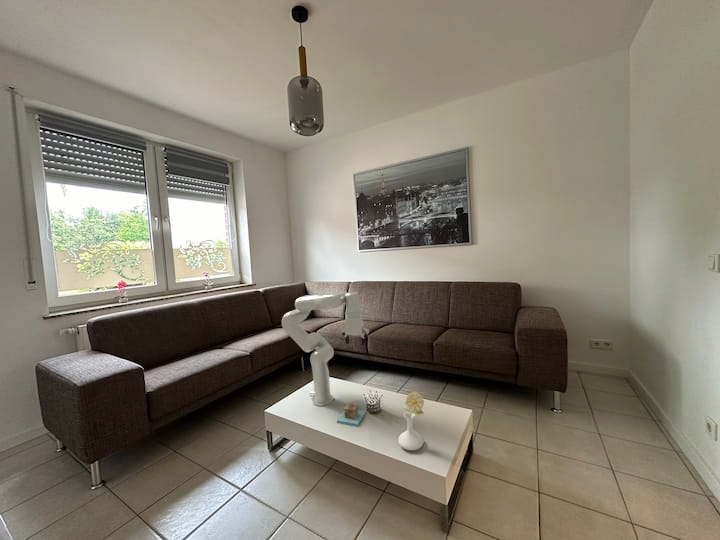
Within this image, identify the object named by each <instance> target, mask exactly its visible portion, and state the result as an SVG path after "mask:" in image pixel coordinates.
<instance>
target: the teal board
mask: <svg viewBox="0 0 720 540" xmlns="http://www.w3.org/2000/svg"><path fill="white" fill-rule="evenodd" d="M366 414H367V411H366V410H362V409H361V410H360V409H358V415H357V416H356V418H355V419H349V418H345V414H344V410H343V411H342V413H341V414H340V415H339V417H338V418H337V419H336V423H337V424H343V425H349V426H354V427H359V425H360V423H361V422H362V421H363V419H364V417H365V416H366Z"/></svg>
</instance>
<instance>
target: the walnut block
mask: <svg viewBox="0 0 720 540" xmlns="http://www.w3.org/2000/svg"><path fill="white" fill-rule="evenodd" d="M343 409H344V410H343V411H344V414H345V418H349V419H355V418H356V416H357V415H358V410H359V406H358V404H356V403H349V402H348V403H347V404H346V406H345V407H344V408H343Z"/></svg>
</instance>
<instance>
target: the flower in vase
mask: <svg viewBox="0 0 720 540" xmlns="http://www.w3.org/2000/svg"><path fill="white" fill-rule="evenodd" d="M404 404H405V405H406V407H407V408H404V407H403V409H404V410H405V411H406V412H405V413H404V412H403V418H404V419H405V420H406V426H407V428H406V430H405V431H404V432H402V433H400V435H399V436H398V438H397V442H398V445H399V446H400V447H401V448H402V449H404V450H407V451H417V450H419V449H421V448H422V447H423V445H424V439H423V437H422V435H420V433H419V432H417V431H415V430H414V428H413V421H414V418H415V416H416V415H424V412H423V407H424V404H425V400H424V398H423V396H422V394H419V393H418V392H416V391H413V392H410V393H409V394H407V396H406V398H405V403H404ZM415 413H416V414H415Z"/></svg>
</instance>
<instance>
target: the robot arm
mask: <svg viewBox="0 0 720 540" xmlns="http://www.w3.org/2000/svg"><path fill="white" fill-rule="evenodd" d="M344 305H345V306H346V311H345V312H344V315H345V316H346V317H345V321H344V327H342V328H340V332H341V335H343V338H344V340H345V345H348V344H350V337H349V336H356V337H357V336H358V337H359V336H360V337H361V346H365V344H366V337H367V336H368V335H369V333H370V329H368V328H366V327H364V326H365V325H364V322H363V317H362V315H361V306H360V294H359V293H358V292H355V291H353V292H346V291H339V292H337V293H334V294H329V295H320V294H314V295H310V294H307V295H306V294H305V295H303V296H300V297H298V298H296V300H295V302H294V307H295V309H293V310H291V311H288V312H286V313H285V314H284V315H283V316H282V319H281V326H282V329H283V331H284V332H285V333H286V334H287V335H288V336H289V337H290V338H291V339H292V340H293V341H294V342H295V343H296V344H297V345H298V346H299V348H301V349H302V351H304V352H305V353H310V352H312V351H313V352H312V353H311V354H310V357H309V361H310V364H311V371H312V378H313V379H312V380H313V390H314V391H312V390H311V391H309V397H310V398H311V397H312V404H313V405H315V406H318V407H319V406H320V407H321V406H327V405H329V404H331V403H332V402H333V401H334V396H333V395H332V394H331V385H330V384H331V382H330V372H329V370H330V369H329V367H328V365H327V363H328V362H329V361H330V360H331V359H332V358H333V357H334V354H335V350H334V348H333V347H332V345H331V344H330V342H328V341H327V340H326V339H325V338H324V336H322V335H321V334H320V333H319V332H315V331H314V332H311V333H308V332H307V331H306V330H305V329H304V328H303V327H301V326H300V325H297V324H299V323H301V322H303V321H305V320H306V319H307V318H308V316H309V315H310V313H311V311H315V310H329V309H330V310H331V309H337V308H339V307H341V306H344ZM364 332H365V333H364Z"/></svg>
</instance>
